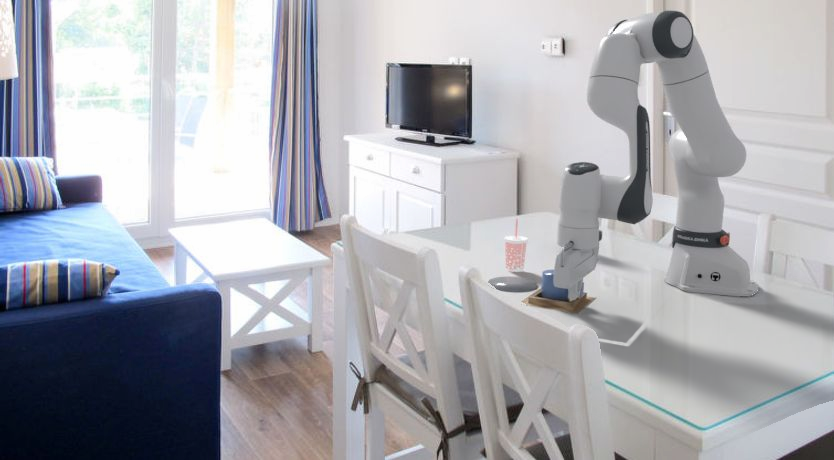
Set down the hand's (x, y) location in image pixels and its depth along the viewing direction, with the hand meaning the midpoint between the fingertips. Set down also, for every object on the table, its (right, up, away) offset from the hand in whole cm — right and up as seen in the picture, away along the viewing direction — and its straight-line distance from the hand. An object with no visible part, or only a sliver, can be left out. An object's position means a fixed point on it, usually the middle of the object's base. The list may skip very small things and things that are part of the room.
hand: (574, 298), depth 197 cm
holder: (-2, -2, +8) cm, 9 cm away
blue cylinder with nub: (-2, -1, +8) cm, 8 cm away
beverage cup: (-9, +4, +35) cm, 36 cm away
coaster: (-11, +1, +21) cm, 24 cm away
